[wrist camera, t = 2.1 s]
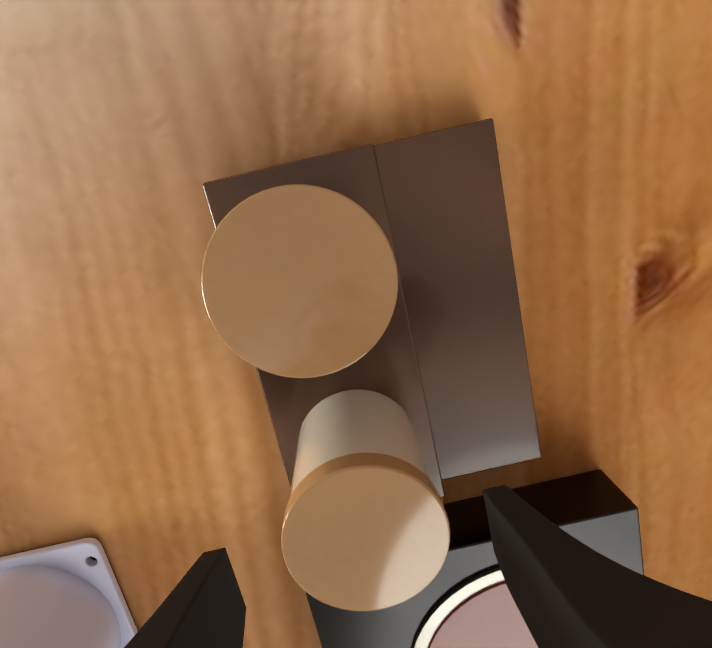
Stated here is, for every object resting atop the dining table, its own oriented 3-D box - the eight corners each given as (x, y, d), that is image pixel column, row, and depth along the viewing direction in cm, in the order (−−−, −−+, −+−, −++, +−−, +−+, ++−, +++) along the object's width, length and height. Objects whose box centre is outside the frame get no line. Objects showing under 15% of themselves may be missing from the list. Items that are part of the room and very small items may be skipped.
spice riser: (531, 444, 23) (553, 473, 21) (305, 495, 23) (302, 529, 21) (483, 121, 19) (504, 112, 17) (216, 184, 19) (201, 183, 17)
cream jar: (428, 482, 20) (463, 592, 15) (312, 508, 20) (304, 627, 15) (404, 373, 19) (434, 448, 14) (281, 401, 19) (260, 487, 14)
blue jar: (390, 306, 18) (415, 355, 13) (262, 335, 19) (232, 397, 13) (361, 172, 17) (375, 163, 12) (225, 204, 17) (174, 210, 12)
